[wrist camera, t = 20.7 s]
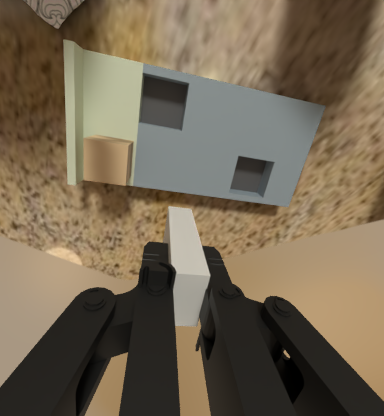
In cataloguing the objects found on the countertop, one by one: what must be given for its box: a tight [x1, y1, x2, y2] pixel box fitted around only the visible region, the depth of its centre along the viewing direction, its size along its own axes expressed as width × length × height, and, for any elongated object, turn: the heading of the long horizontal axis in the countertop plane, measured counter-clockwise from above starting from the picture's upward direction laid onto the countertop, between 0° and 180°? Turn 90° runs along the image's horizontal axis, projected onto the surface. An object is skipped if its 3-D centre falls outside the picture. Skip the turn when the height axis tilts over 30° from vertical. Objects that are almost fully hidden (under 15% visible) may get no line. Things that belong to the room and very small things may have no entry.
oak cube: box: [83, 135, 134, 186], centre depth 29 cm, size 5×5×5 cm
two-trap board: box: [63, 39, 326, 207], centre depth 32 cm, size 34×16×6 cm, turn 80°
